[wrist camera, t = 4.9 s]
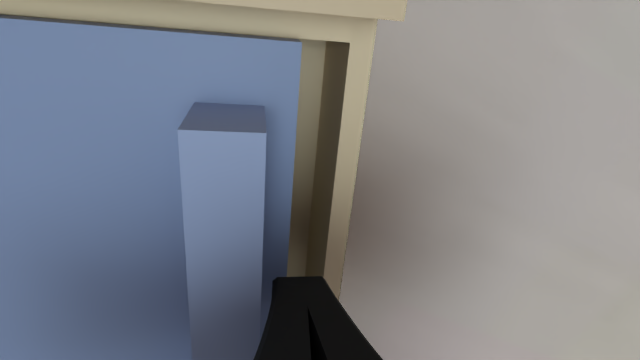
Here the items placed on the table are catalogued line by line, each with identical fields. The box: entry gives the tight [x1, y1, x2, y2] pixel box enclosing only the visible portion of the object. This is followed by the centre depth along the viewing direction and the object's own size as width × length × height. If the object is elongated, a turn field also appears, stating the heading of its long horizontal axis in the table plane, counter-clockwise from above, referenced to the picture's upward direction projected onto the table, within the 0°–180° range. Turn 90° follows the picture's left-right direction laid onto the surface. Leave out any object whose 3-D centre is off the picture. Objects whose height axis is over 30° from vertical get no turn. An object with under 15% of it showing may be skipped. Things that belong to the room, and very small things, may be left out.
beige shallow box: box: [0, 0, 407, 301], centre depth 11 cm, size 15×20×6 cm
